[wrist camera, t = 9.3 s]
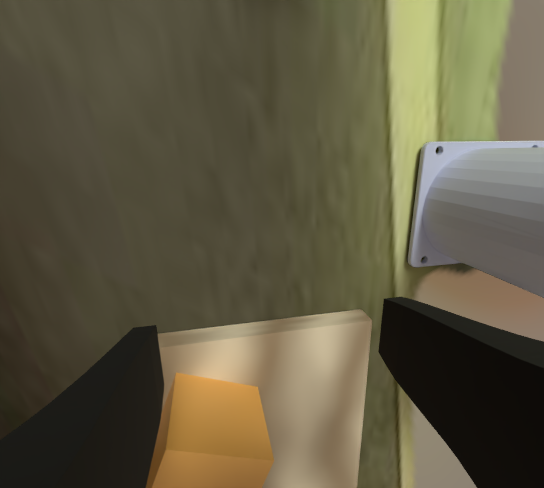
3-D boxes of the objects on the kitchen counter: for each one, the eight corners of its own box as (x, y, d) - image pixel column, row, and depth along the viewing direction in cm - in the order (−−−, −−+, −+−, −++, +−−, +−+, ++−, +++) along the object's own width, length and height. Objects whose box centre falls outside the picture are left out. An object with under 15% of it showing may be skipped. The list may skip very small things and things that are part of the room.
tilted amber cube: (257, 386, 20) (274, 460, 15) (230, 450, 21) (238, 538, 16) (176, 372, 18) (165, 449, 13) (151, 441, 19) (133, 536, 14)
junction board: (361, 309, 21) (410, 359, 16) (348, 469, 26) (384, 549, 21) (130, 337, 18) (101, 408, 13) (160, 512, 23) (147, 617, 18)
